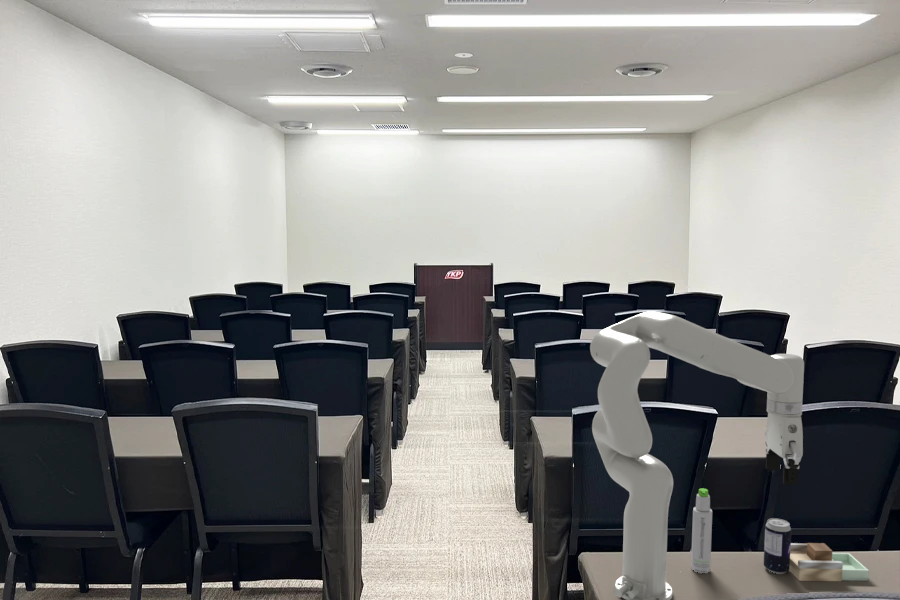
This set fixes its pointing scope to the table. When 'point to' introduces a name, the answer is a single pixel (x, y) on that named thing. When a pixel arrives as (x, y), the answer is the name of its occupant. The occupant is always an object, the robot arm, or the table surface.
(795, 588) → the table surface
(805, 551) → the slot board
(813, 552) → the brown block
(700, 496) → the bottle
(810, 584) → the table surface
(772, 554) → the beverage can
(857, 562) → the tray
